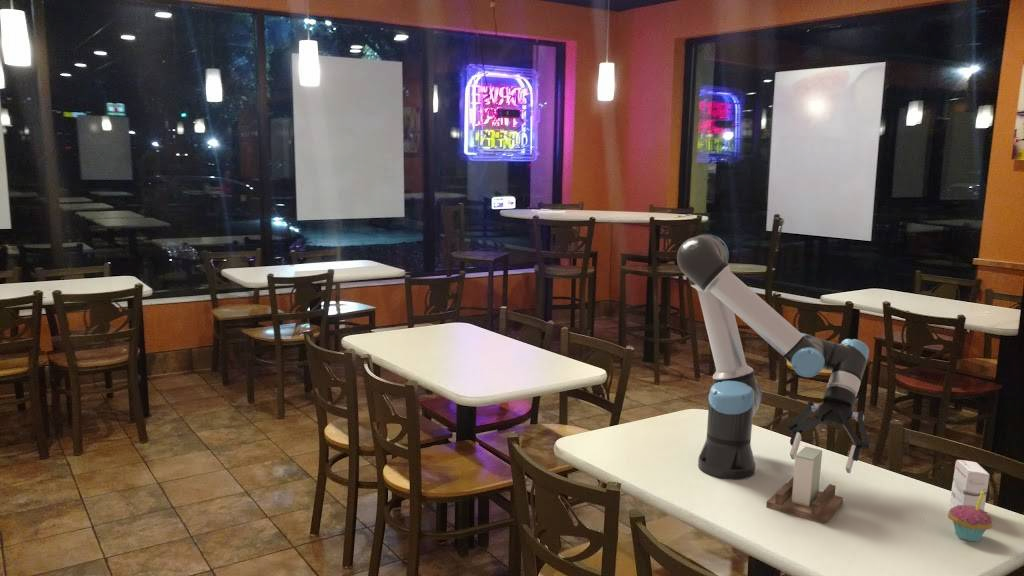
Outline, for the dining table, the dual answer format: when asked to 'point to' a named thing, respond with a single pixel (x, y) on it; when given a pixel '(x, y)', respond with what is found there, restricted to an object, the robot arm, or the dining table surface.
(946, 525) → the dining table surface
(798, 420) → the robot arm
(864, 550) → the dining table surface
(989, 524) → the cupcake
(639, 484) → the dining table surface
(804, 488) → the sage box
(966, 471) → the white rectangular block
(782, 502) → the walnut rack
